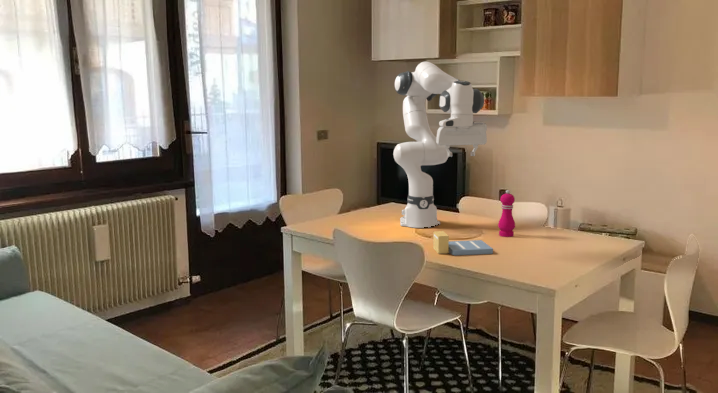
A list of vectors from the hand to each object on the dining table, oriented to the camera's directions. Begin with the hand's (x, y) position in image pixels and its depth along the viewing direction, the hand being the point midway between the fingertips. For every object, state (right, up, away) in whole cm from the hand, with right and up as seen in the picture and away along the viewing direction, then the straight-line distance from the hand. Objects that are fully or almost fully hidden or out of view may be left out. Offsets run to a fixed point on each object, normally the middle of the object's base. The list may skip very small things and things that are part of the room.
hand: (461, 156), depth 268 cm
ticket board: (+2, -38, -3) cm, 38 cm away
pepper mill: (+23, -33, +21) cm, 45 cm away
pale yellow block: (-9, -38, -5) cm, 39 cm away
